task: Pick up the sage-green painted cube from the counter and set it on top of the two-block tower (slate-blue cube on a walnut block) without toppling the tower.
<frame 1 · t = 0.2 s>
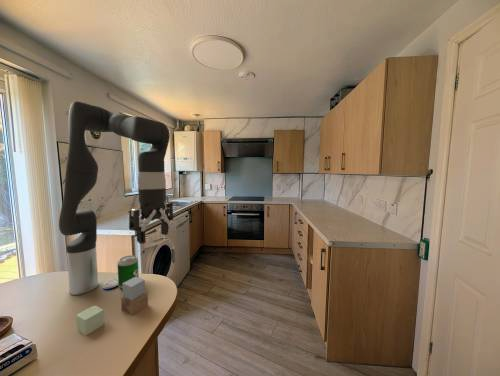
hand: (153, 238, 61), 29 cm above the table, fingers open, 8 cm apart
slate cube: (134, 294, 71), point 5 cm above the table, touching walnut block
sage cube: (90, 327, 62), on the table
walnut block: (135, 307, 71), on the table, touching slate cube
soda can: (128, 285, 86), on the table
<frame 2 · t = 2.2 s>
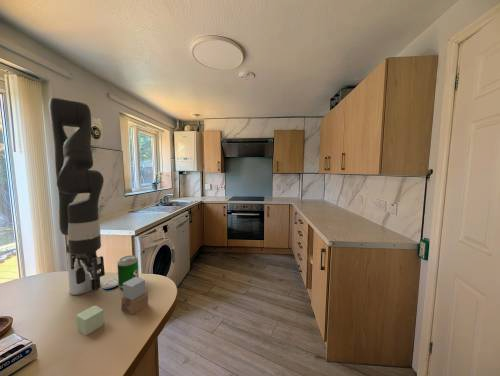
hand: (88, 286, 61), 14 cm above the table, fingers open, 8 cm apart
nothing on the table moved.
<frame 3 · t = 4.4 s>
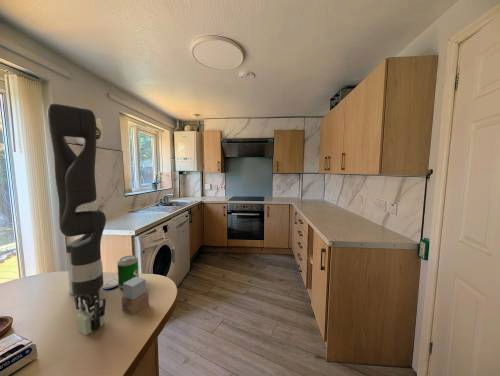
hand: (90, 325, 62), 0 cm above the table, fingers closed on sage cube, 5 cm apart
sage cube: (90, 326, 62), on the table, touching gripper
everything else where it was.
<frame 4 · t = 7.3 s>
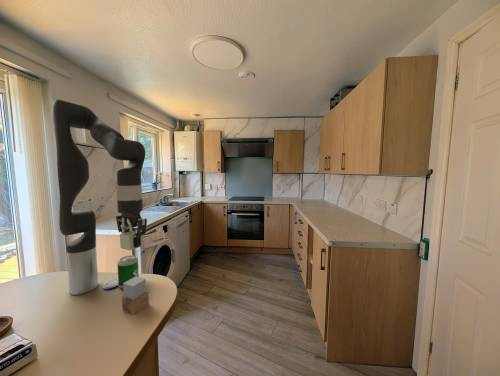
hand: (132, 245, 69), 23 cm above the table, fingers closed on sage cube, 5 cm apart
sage cube: (132, 246, 69), point 23 cm above the table, touching gripper
everything else where it was.
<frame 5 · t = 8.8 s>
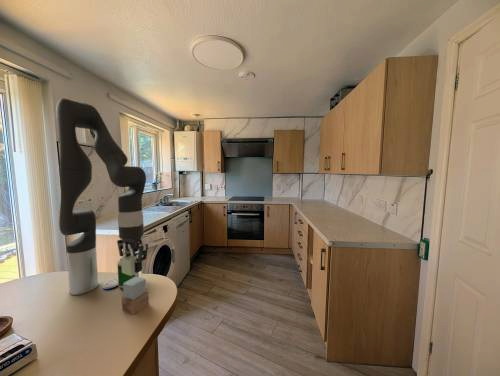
hand: (133, 269, 70), 14 cm above the table, fingers closed on sage cube, 5 cm apart
sage cube: (133, 271, 70), point 14 cm above the table, touching gripper
everything else where it was.
when the fingers open (12 cm above the table, at t = 10.2 s): sage cube drops 1 cm, resting on slate cube.
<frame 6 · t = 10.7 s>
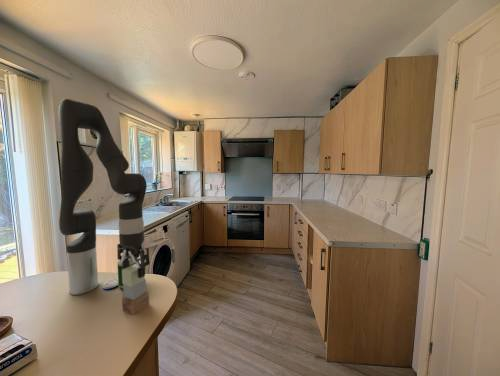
hand: (133, 274, 70), 13 cm above the table, fingers open, 8 cm apart
slate cube: (135, 294, 71), point 5 cm above the table, touching sage cube, walnut block
sage cube: (133, 281, 70), point 10 cm above the table, touching slate cube
everything else where it was.
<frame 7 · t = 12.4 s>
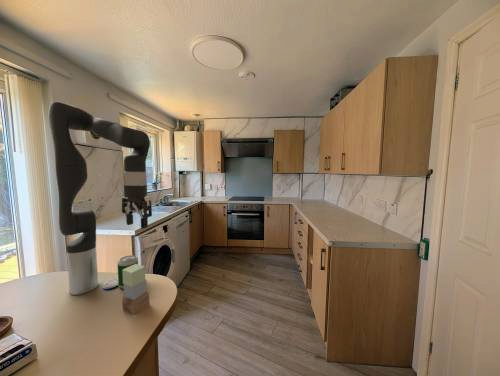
hand: (136, 226, 75), 29 cm above the table, fingers open, 8 cm apart
nothing on the table moved.
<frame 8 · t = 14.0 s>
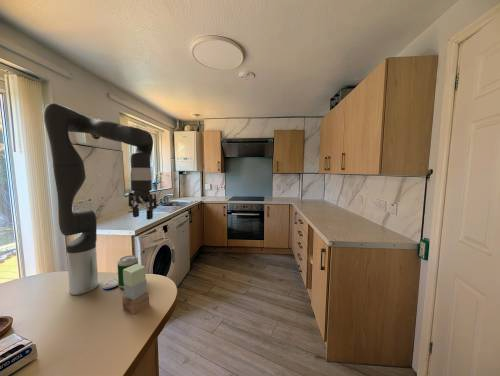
hand: (142, 218, 81), 30 cm above the table, fingers open, 8 cm apart
nothing on the table moved.
at the end: sage cube 0.2 cm off-centre on the slate cube, point 5.0 cm above the slate cube's base; slate cube 0.1 cm off-centre on the walnut block, point 5.0 cm above the walnut block's base; sage cube tilted 0° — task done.
